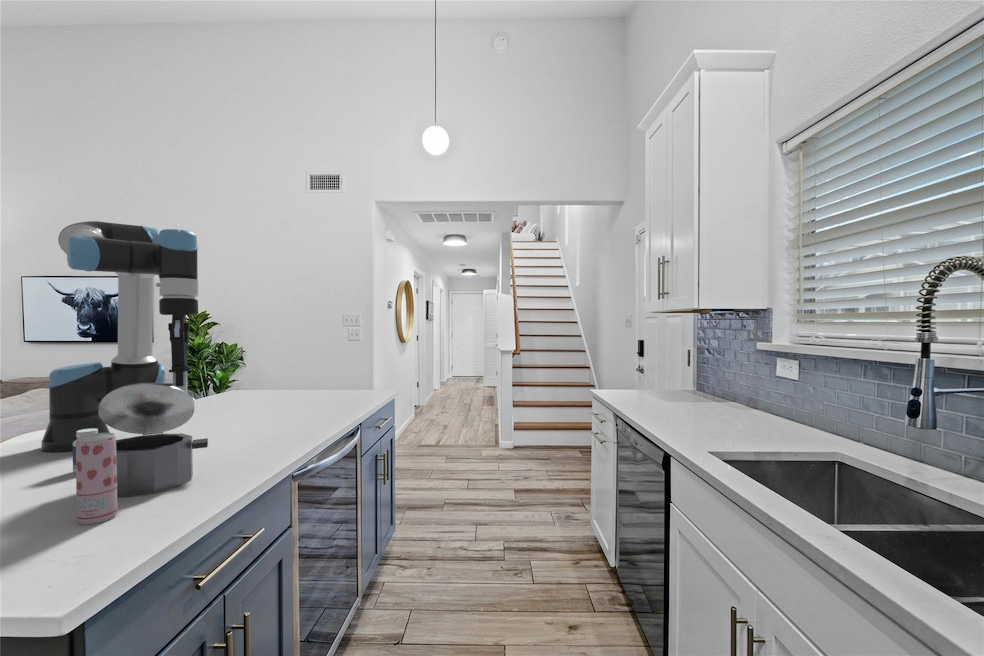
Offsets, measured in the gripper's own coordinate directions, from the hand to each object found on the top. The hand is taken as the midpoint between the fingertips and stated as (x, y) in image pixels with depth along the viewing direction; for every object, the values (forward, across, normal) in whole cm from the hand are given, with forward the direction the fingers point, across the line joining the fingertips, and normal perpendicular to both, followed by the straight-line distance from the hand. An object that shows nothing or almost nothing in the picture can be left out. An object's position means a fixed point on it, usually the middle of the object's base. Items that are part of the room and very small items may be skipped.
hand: (180, 399), depth 112 cm
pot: (+18, +3, -6) cm, 19 cm away
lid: (+2, 0, -6) cm, 6 cm away
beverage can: (+18, +22, -11) cm, 30 cm away
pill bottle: (+18, -15, -20) cm, 31 cm away
